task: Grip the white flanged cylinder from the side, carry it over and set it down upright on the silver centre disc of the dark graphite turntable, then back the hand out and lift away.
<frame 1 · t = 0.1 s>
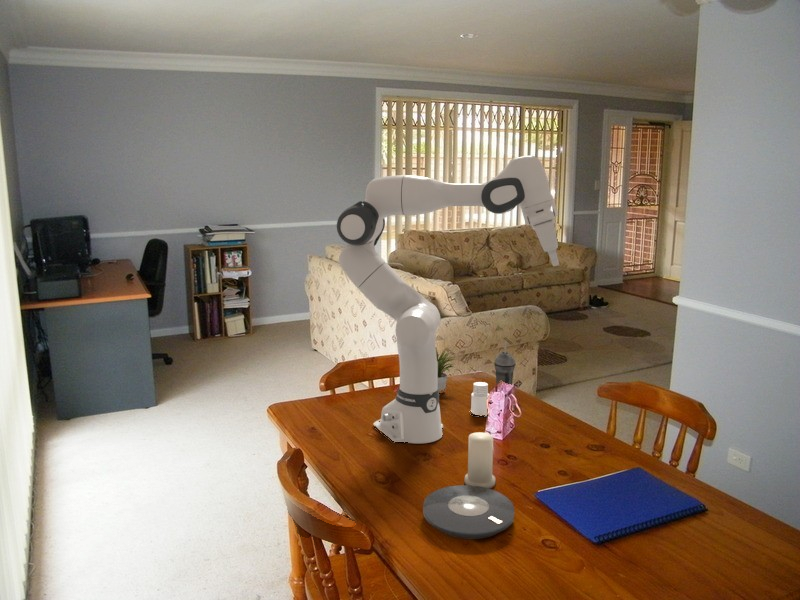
hand: (555, 263, 175), 52 cm above the table, tool tilted 20°, fingers open, 8 cm apart
house plant: (437, 393, 229), on the table
beverage cup: (503, 396, 226), on the table
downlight: (480, 414, 209), on the table
turntable: (468, 508, 143), point 3 cm above the table, hinge at 0.0°
turntable base: (468, 519, 144), on the table
white flanged cylinder: (479, 482, 162), on the table
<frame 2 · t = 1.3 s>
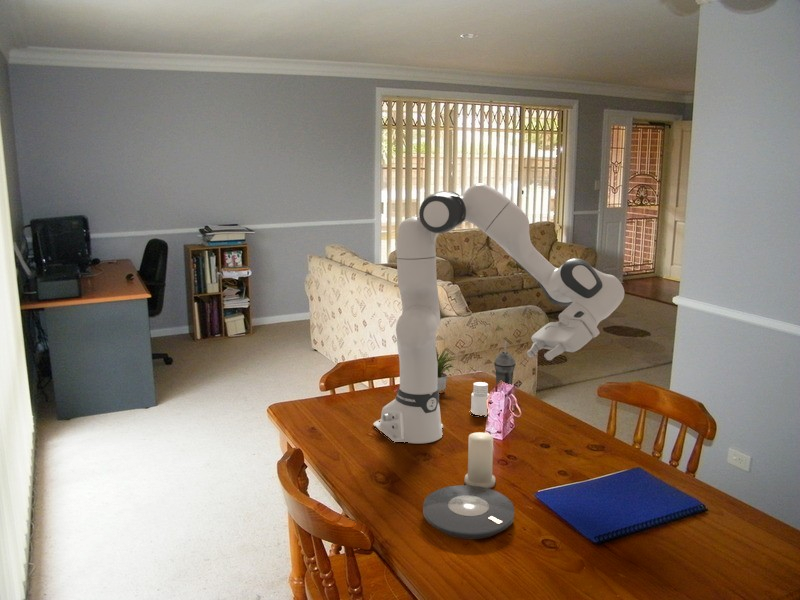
hand: (537, 356, 166), 29 cm above the table, tool tilted 55°, fingers open, 8 cm apart
nothing on the table moved.
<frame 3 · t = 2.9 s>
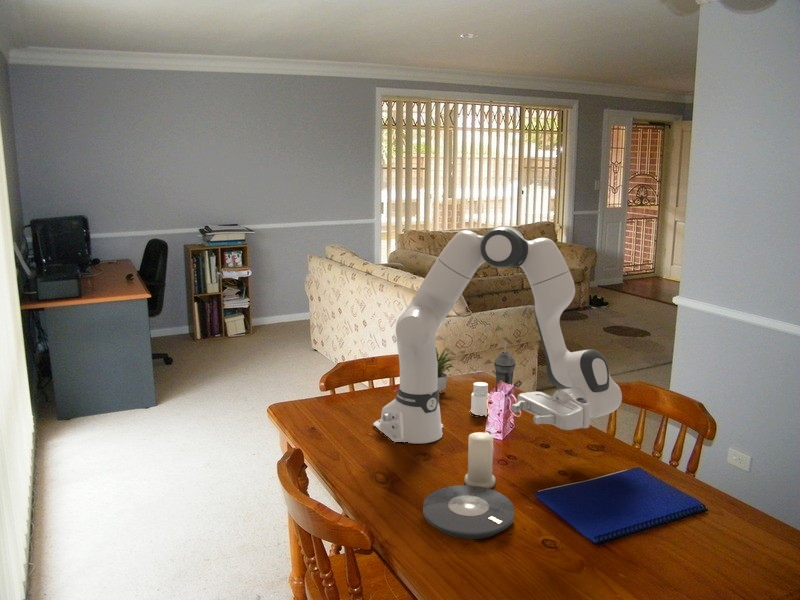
hand: (523, 414, 164), 16 cm above the table, tool horizontal, fingers open, 8 cm apart
nothing on the table moved.
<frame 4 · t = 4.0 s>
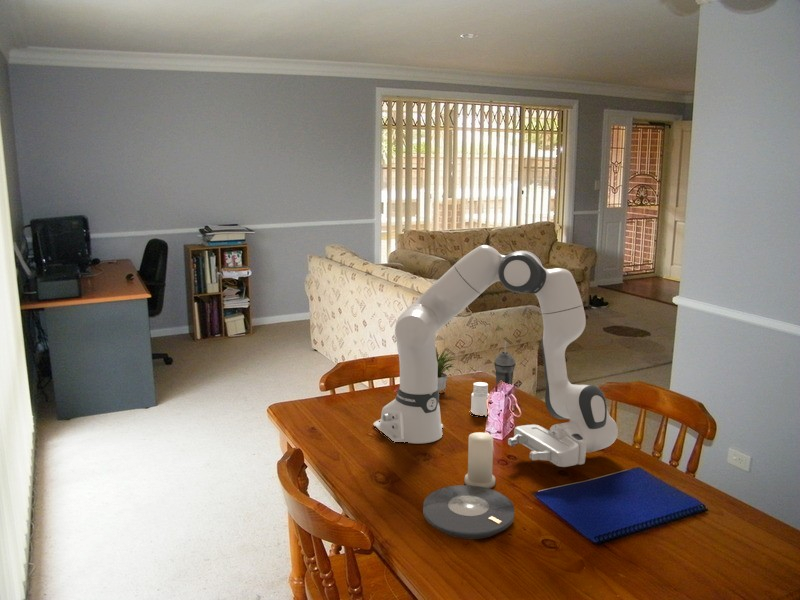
hand: (519, 449, 165), 7 cm above the table, tool horizontal, fingers open, 8 cm apart
nothing on the table moved.
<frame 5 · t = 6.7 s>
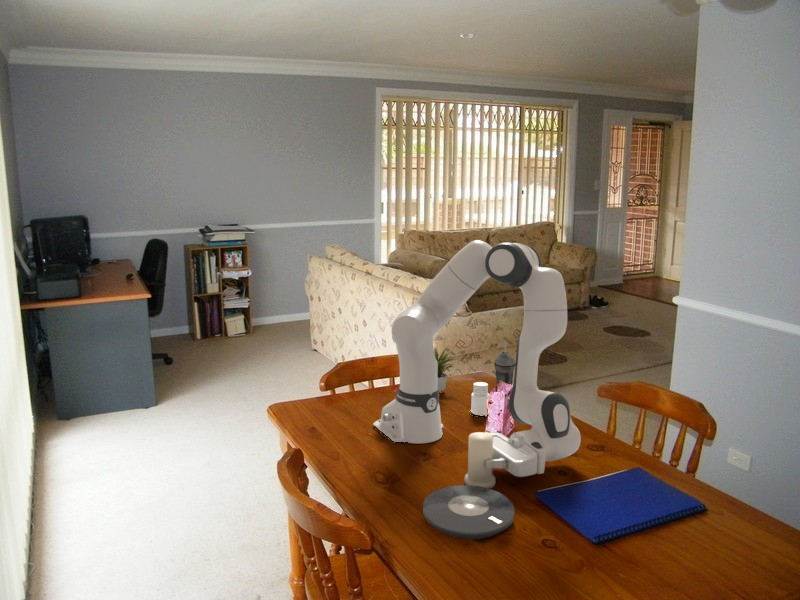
hand: (477, 458, 160), 7 cm above the table, tool horizontal, fingers closed on white flanged cylinder, 6 cm apart
white flanged cylinder: (479, 482, 162), on the table, touching gripper
everything else where it was.
when the fingers open (11 cm above the table, at t = 12.7 s): white flanged cylinder drops 1 cm, resting on turntable.
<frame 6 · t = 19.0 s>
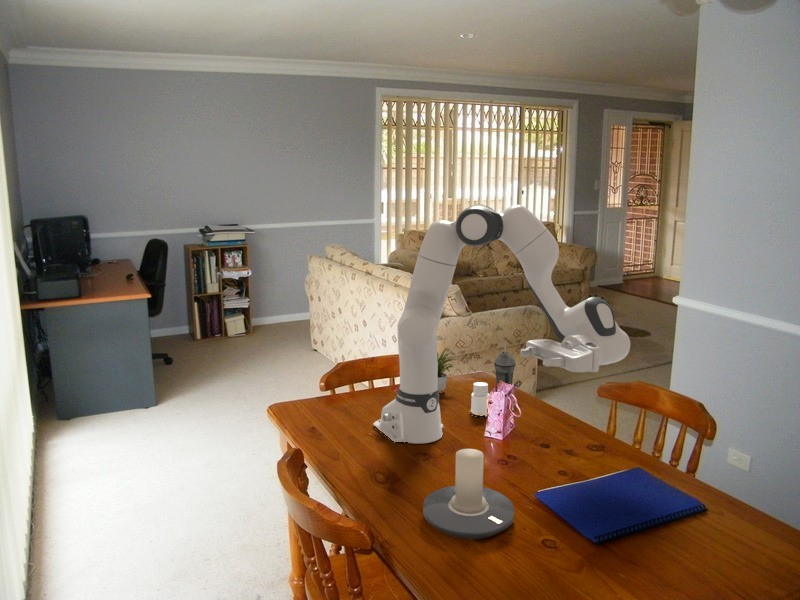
hand: (532, 358, 163), 30 cm above the table, tool horizontal, fingers open, 8 cm apart
turntable: (468, 508, 143), point 3 cm above the table, hinge at 0.0°, touching white flanged cylinder
white flanged cylinder: (468, 505, 143), point 3 cm above the table, touching turntable
everything else where it was.
at the end: white flanged cylinder 0.0 cm off-centre on the turntable, point 3.4 cm above the turntable's base; white flanged cylinder tilted 0°; the gripper is holding nothing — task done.
